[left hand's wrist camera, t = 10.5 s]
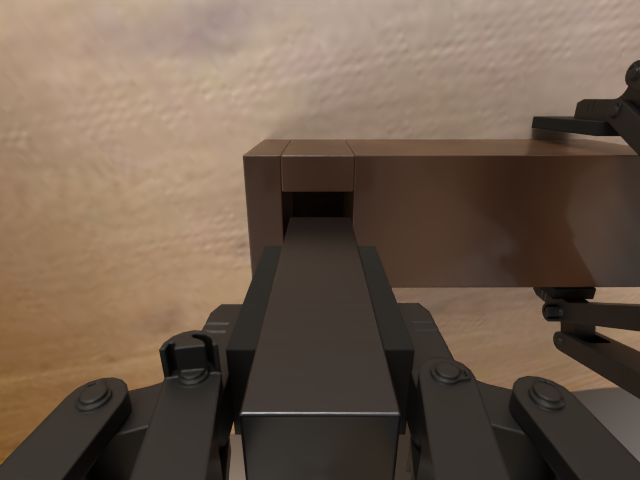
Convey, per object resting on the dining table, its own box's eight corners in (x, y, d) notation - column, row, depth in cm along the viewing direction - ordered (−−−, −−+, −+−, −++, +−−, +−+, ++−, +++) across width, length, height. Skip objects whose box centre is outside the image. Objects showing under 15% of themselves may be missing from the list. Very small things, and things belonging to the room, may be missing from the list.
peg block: (269, 240, 30) (252, 288, 22) (263, 139, 27) (242, 155, 19) (561, 240, 30) (643, 287, 22) (587, 139, 27) (691, 155, 19)
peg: (291, 271, 19) (249, 521, 8) (289, 216, 18) (237, 414, 7) (348, 271, 19) (390, 521, 8) (350, 216, 18) (402, 414, 7)
